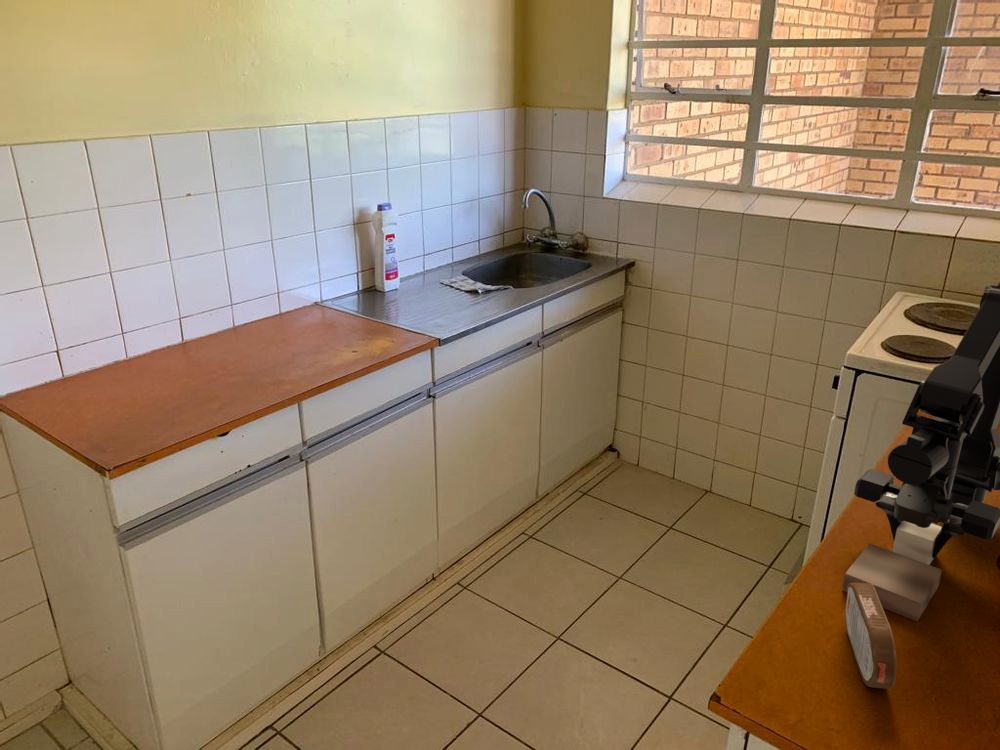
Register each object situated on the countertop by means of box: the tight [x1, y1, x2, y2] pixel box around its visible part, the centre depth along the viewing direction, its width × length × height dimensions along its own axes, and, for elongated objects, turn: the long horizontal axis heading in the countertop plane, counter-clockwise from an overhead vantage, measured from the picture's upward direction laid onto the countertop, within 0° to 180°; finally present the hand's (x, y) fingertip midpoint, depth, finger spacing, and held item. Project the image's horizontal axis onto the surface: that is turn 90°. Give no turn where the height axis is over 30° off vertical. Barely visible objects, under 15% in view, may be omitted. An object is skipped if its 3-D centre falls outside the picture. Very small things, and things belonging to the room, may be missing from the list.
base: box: [841, 543, 943, 622], centre depth 108 cm, size 10×10×3 cm
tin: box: [844, 582, 897, 690], centre depth 94 cm, size 15×3×8 cm, turn 168°
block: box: [891, 521, 942, 566], centre depth 115 cm, size 5×5×5 cm
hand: (914, 549), depth 116 cm, fingers closed on block, 5 cm apart
